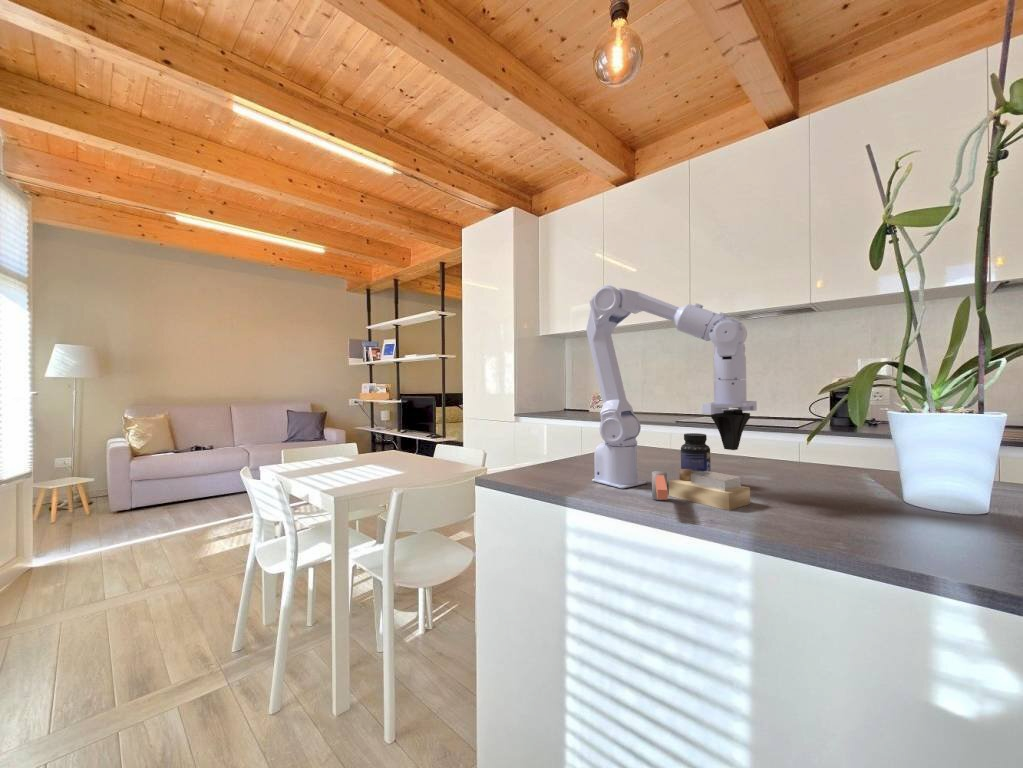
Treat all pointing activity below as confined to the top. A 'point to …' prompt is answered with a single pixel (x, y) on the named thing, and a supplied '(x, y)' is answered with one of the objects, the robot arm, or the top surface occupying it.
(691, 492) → the body
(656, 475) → the hammer
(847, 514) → the top surface
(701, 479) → the grey slanted block
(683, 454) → the pill bottle
